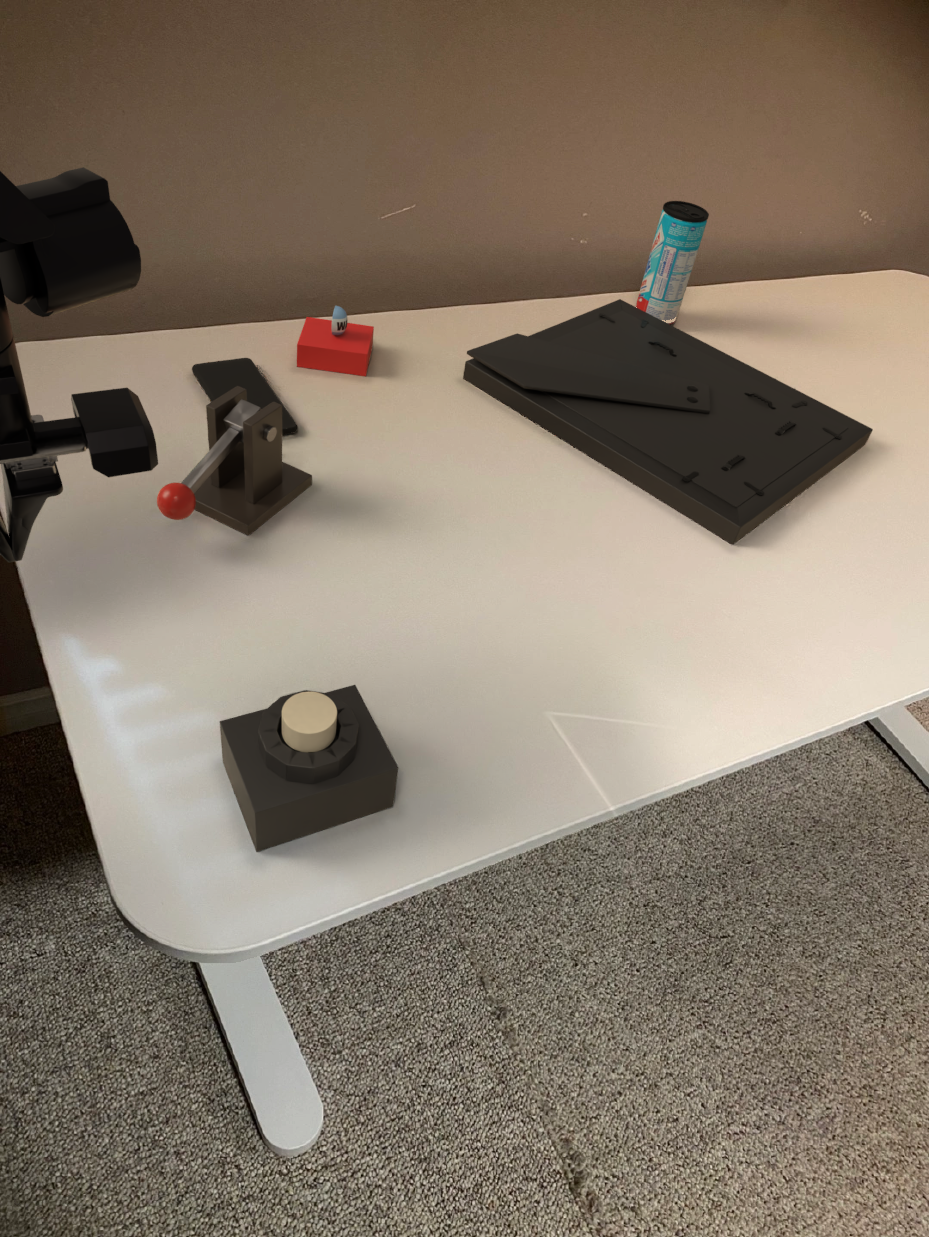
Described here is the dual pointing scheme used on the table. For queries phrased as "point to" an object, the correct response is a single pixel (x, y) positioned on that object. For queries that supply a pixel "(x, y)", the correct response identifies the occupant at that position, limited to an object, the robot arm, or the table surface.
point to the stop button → (309, 721)
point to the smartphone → (240, 385)
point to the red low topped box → (335, 344)
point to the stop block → (307, 772)
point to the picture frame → (669, 414)
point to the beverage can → (671, 259)
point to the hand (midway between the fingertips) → (14, 557)
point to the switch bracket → (249, 469)
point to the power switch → (204, 466)
